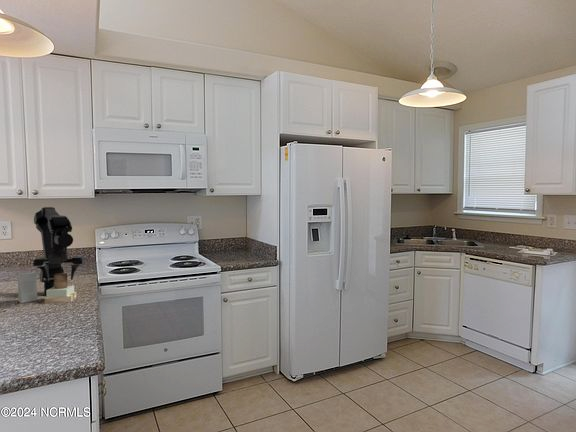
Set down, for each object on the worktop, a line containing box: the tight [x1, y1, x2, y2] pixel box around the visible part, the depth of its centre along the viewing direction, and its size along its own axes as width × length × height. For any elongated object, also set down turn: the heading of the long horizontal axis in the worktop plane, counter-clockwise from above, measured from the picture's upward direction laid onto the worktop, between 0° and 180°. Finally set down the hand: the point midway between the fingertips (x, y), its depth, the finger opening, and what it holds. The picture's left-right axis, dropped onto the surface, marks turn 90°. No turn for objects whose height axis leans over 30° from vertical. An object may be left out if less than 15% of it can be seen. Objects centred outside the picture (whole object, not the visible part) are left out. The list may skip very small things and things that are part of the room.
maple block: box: [44, 290, 78, 304], centre depth 167 cm, size 10×10×3 cm
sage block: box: [45, 285, 75, 297], centre depth 167 cm, size 8×8×3 cm
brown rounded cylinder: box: [54, 272, 68, 289], centre depth 167 cm, size 5×5×6 cm
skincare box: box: [17, 271, 38, 304], centre depth 165 cm, size 6×4×12 cm
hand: (60, 280), depth 167 cm, fingers open, 9 cm apart
